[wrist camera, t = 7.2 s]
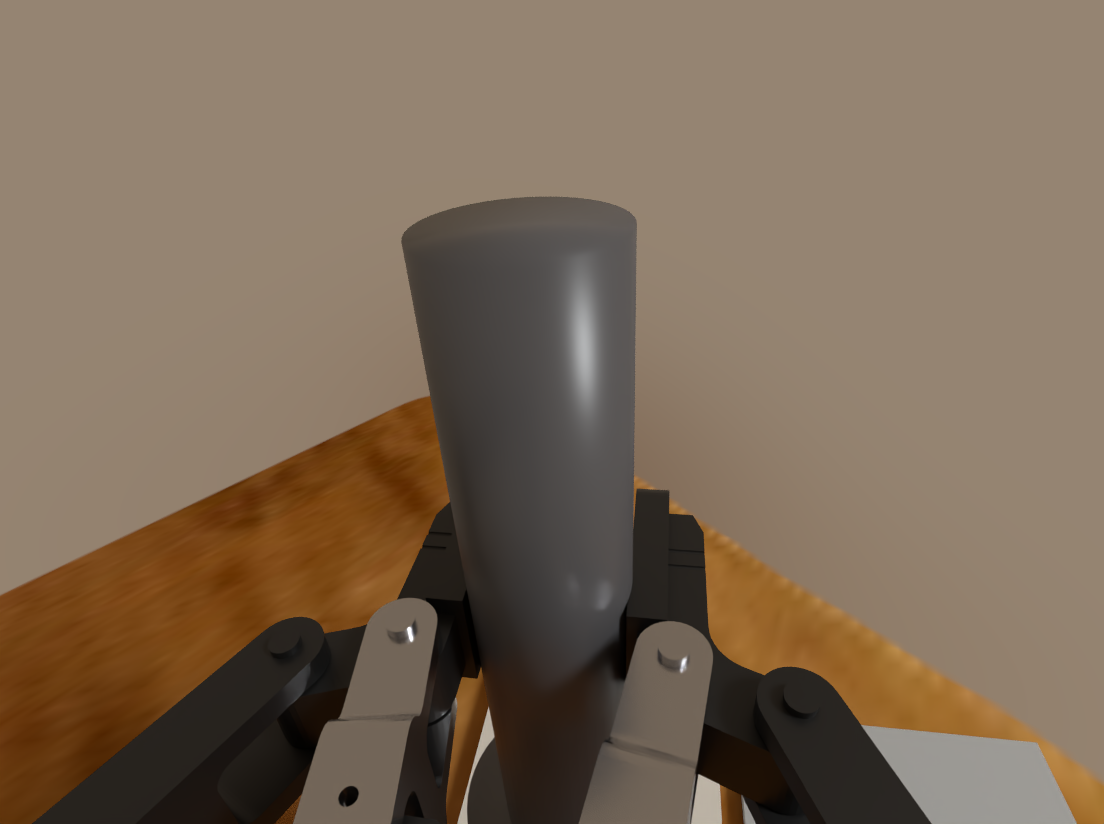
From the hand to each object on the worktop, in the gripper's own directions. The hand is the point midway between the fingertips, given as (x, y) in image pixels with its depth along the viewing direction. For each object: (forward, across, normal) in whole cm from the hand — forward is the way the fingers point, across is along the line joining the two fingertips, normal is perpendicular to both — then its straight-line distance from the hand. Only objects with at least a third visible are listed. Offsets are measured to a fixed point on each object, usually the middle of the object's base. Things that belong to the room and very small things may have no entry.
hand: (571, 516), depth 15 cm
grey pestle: (-3, 0, +10) cm, 11 cm away
